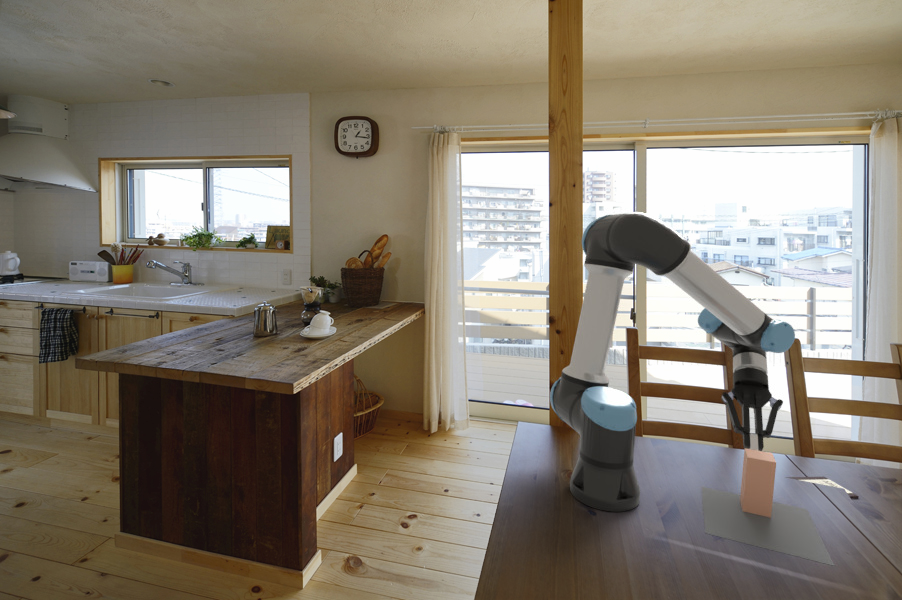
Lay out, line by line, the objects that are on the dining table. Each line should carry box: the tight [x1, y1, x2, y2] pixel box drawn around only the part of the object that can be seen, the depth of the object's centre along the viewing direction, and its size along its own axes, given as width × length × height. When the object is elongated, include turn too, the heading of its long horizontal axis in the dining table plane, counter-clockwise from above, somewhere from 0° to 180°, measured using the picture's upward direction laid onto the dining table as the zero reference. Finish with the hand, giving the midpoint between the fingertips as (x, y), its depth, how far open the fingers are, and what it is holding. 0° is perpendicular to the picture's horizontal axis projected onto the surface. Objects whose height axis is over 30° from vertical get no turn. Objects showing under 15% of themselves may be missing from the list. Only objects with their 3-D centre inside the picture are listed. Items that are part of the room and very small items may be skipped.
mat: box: [700, 486, 835, 567], centre depth 94 cm, size 20×20×1 cm
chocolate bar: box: [784, 476, 859, 499], centre depth 108 cm, size 9×1×18 cm
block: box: [739, 448, 777, 517], centre depth 98 cm, size 5×5×12 cm
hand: (754, 462), depth 105 cm, fingers closed
